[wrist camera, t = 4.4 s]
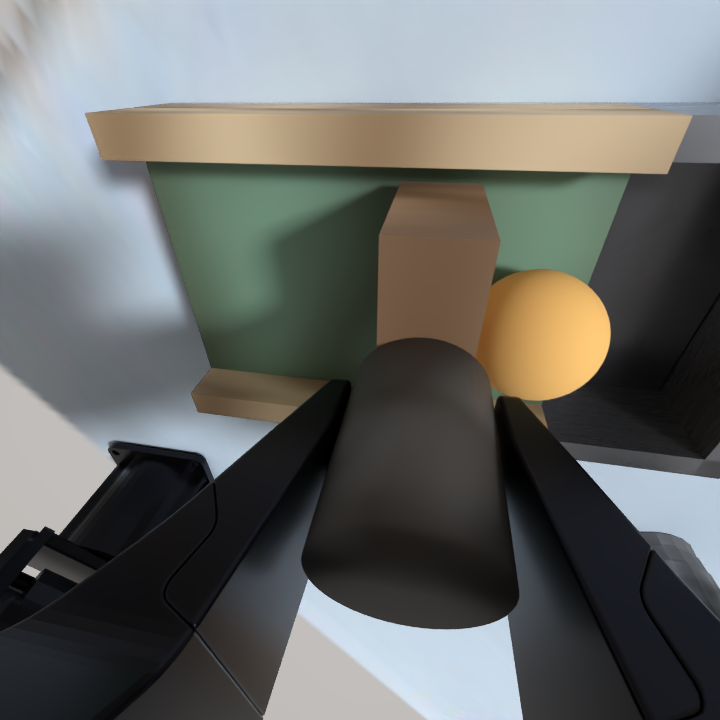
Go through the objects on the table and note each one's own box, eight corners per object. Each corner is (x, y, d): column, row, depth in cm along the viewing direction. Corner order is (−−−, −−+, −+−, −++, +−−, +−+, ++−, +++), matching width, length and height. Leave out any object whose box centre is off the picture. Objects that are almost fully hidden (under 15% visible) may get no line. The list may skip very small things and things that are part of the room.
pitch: (237, 358, 18) (197, 412, 15) (170, 102, 12) (84, 112, 9) (525, 389, 16) (542, 457, 13) (622, 103, 10) (692, 116, 7)
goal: (525, 389, 16) (541, 455, 13) (622, 103, 10) (690, 115, 7) (669, 405, 15) (718, 478, 12) (872, 102, 9) (1057, 116, 6)
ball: (460, 420, 10) (600, 435, 10) (485, 305, 8) (666, 317, 8) (455, 346, 13) (564, 355, 12) (472, 245, 11) (603, 251, 10)
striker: (377, 387, 14) (319, 645, 8) (381, 180, 10) (261, 382, 3) (460, 396, 13) (472, 679, 7) (503, 184, 9) (624, 425, 3)
